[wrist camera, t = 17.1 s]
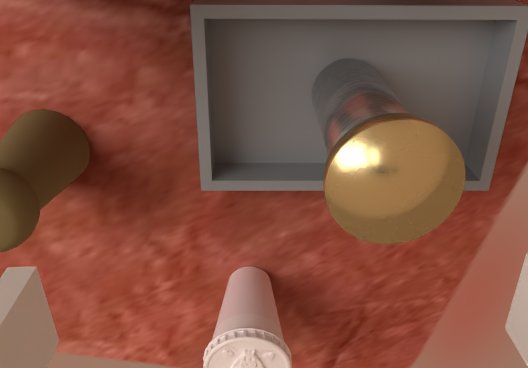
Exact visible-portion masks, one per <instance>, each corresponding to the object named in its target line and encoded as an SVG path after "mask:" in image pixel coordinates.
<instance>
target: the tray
mask: <svg viewBox="0 0 528 368" xmlns="http://www.w3.org/2000/svg"><path fill="white" fill-rule="evenodd" d="M190 16H191V32H192V49H193V65H194V81H195V98H196V114H197V130H198V147H199V163H200V179H201V191H324V189H323V171H324V166H325V163H326V160H327V158H328V153H327V149H326V146H325V143H324V139H323V136H322V133H321V129H320V126H319V122H318V119H317V116H316V112H315V109H314V106H313V102H312V88H313V84H314V82H315V80H316V78H317V76H318V75H319V73H320V72H321V71H322V70H323V69H324V68H325V67H326V66H328V65H329V64H331V63H333V62H335V61H337V60H340V59H345V58H354V59H359V60H362V61H365V62H367V63H368V64H370V65H371V66H372V67H373V68H374V69H375V70H376V71H377V73H378V74H379V75H380V76H381V78H382V79H383V80H384V81H385V83H386V84H387V85H388V86H389V88H390V89H391V90H392V91H393V93H394V94H395V95H396V97H397V98H398V99H399V100H400V102H401V103H402V104H403V105H404V107H405V108H406V109H407V110H408V112H409V113H410V114H414V115H418V116H421V117H424V118H426V119H428V120H430V121H432V122H434V123H435V124H437V125H438V126H439V127H440V128H442V129H443V130H444V131H445V132H446V134H447V135H448V136H449V137H450V138H451V139H452V140H453V142H454V143H455V144H456V146H457V147H458V149H459V150H460V152H461V154H462V157H463V160H464V164H465V185H464V189H463V191H489V187H490V183H491V179H492V175H493V171H494V167H495V163H496V159H497V155H498V151H499V147H500V142H501V138H502V134H503V130H504V126H505V122H506V118H507V114H508V110H509V106H510V102H511V98H512V94H513V90H514V85H515V81H516V77H517V73H518V69H519V65H520V61H521V57H522V53H523V49H524V45H525V41H526V37H527V33H528V4H525V3H522V2H519V1H516V0H193V1H192V3H191V4H190Z"/></svg>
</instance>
